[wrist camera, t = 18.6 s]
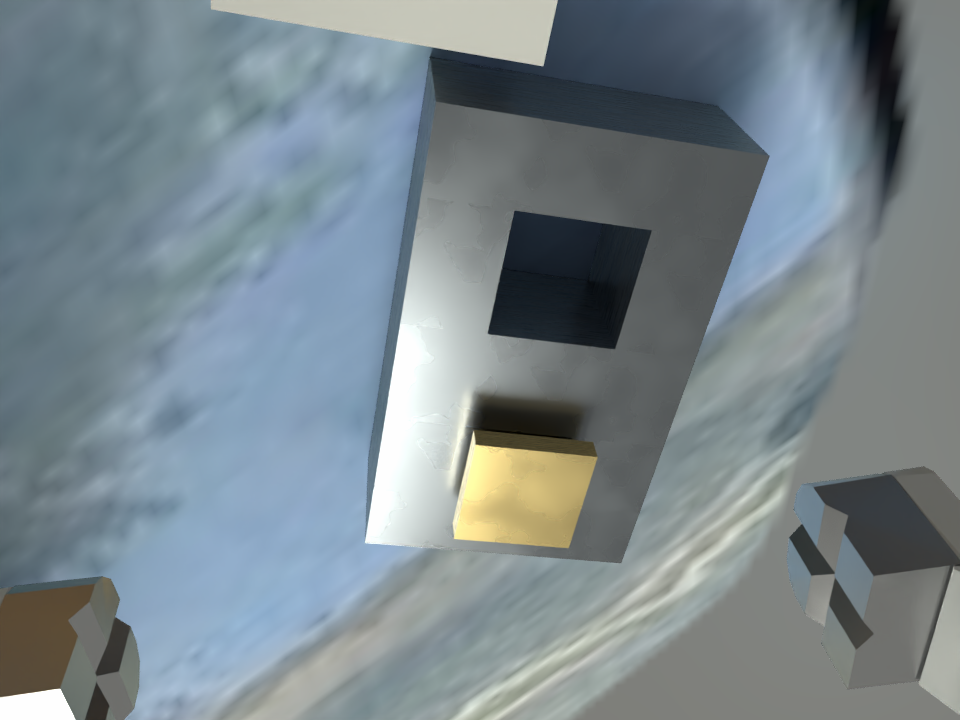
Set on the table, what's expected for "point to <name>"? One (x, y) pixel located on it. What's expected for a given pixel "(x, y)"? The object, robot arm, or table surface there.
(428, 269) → the socket block
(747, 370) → the table surface
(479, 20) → the cream square open frame
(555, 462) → the wooden tenon block
